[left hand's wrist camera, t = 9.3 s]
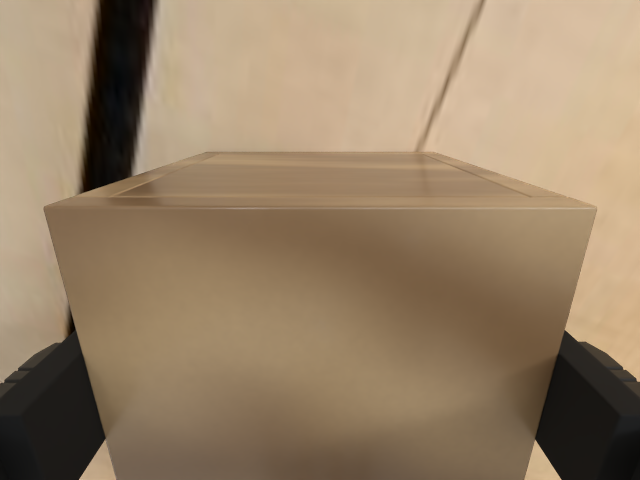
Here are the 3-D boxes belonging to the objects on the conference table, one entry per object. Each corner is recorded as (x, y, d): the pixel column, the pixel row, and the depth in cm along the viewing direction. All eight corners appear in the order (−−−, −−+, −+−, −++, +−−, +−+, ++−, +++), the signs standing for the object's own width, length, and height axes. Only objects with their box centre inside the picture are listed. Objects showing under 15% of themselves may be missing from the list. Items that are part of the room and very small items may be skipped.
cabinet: (407, 409, 23) (479, 650, 13) (232, 409, 23) (161, 650, 13) (435, 151, 17) (599, 206, 7) (205, 151, 17) (40, 206, 7)
